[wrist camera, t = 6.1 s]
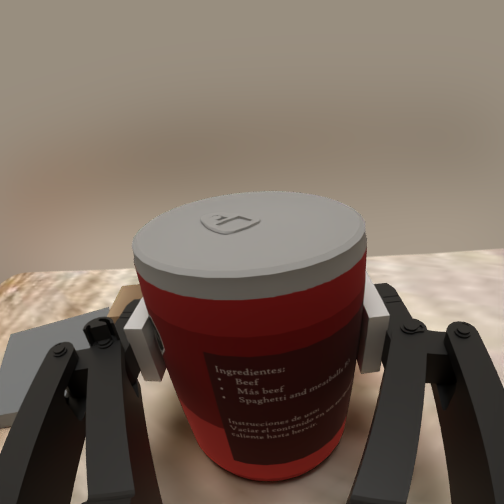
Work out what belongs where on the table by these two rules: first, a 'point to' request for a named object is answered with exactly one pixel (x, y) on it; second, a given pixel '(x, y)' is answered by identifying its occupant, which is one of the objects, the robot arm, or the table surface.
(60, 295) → the table surface
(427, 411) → the table surface
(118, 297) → the teak block
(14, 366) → the plate
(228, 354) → the canned food
